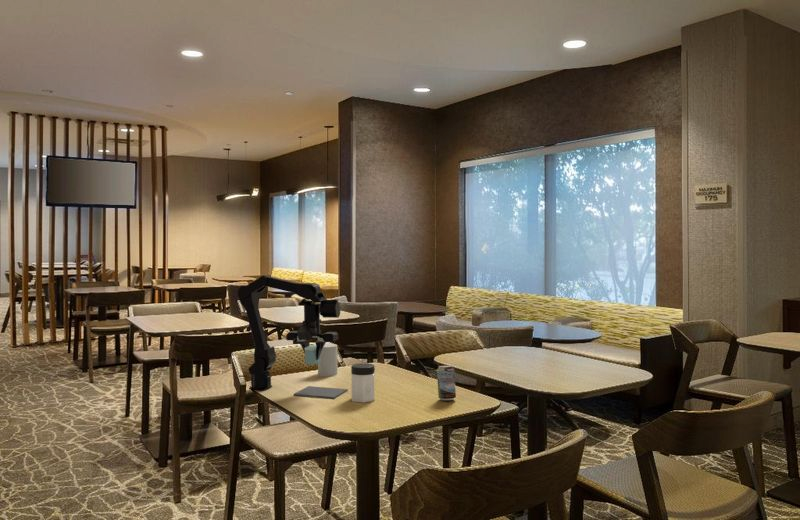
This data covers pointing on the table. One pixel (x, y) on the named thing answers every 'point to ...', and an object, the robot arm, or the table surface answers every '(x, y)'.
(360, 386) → the jar
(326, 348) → the cup
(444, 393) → the beverage can
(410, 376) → the table surface
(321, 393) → the mat
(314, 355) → the pale teal block
